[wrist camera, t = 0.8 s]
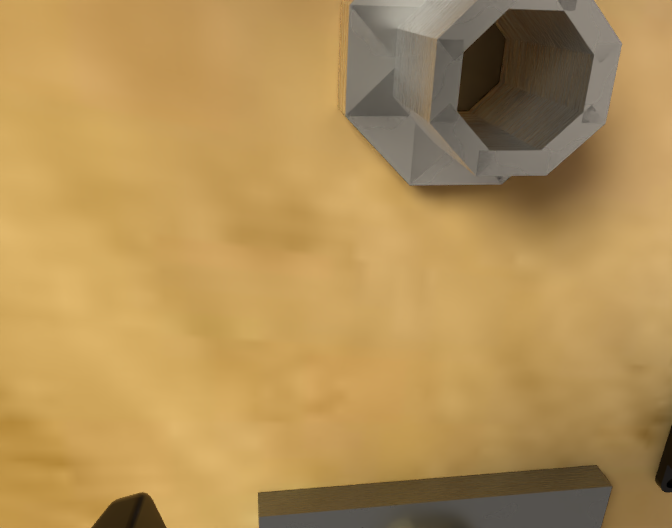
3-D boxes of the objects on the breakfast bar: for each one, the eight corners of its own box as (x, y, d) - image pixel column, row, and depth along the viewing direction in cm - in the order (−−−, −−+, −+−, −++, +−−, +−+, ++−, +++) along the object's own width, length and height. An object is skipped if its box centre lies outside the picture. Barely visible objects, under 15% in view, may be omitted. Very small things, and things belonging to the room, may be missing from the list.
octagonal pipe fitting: (584, -66, 17) (707, -85, 13) (543, 171, 20) (632, 224, 16) (343, -79, 16) (384, -103, 12) (335, 172, 19) (365, 230, 15)
